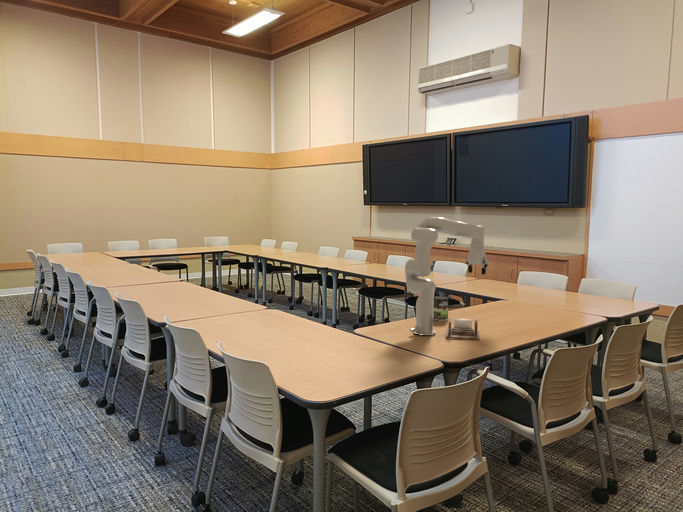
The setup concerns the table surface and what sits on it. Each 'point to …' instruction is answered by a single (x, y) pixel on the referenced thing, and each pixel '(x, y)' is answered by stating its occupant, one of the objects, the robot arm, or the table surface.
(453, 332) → the roll holder
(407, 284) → the robot arm
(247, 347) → the table surface
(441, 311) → the coffee can
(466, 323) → the paper towel roll
